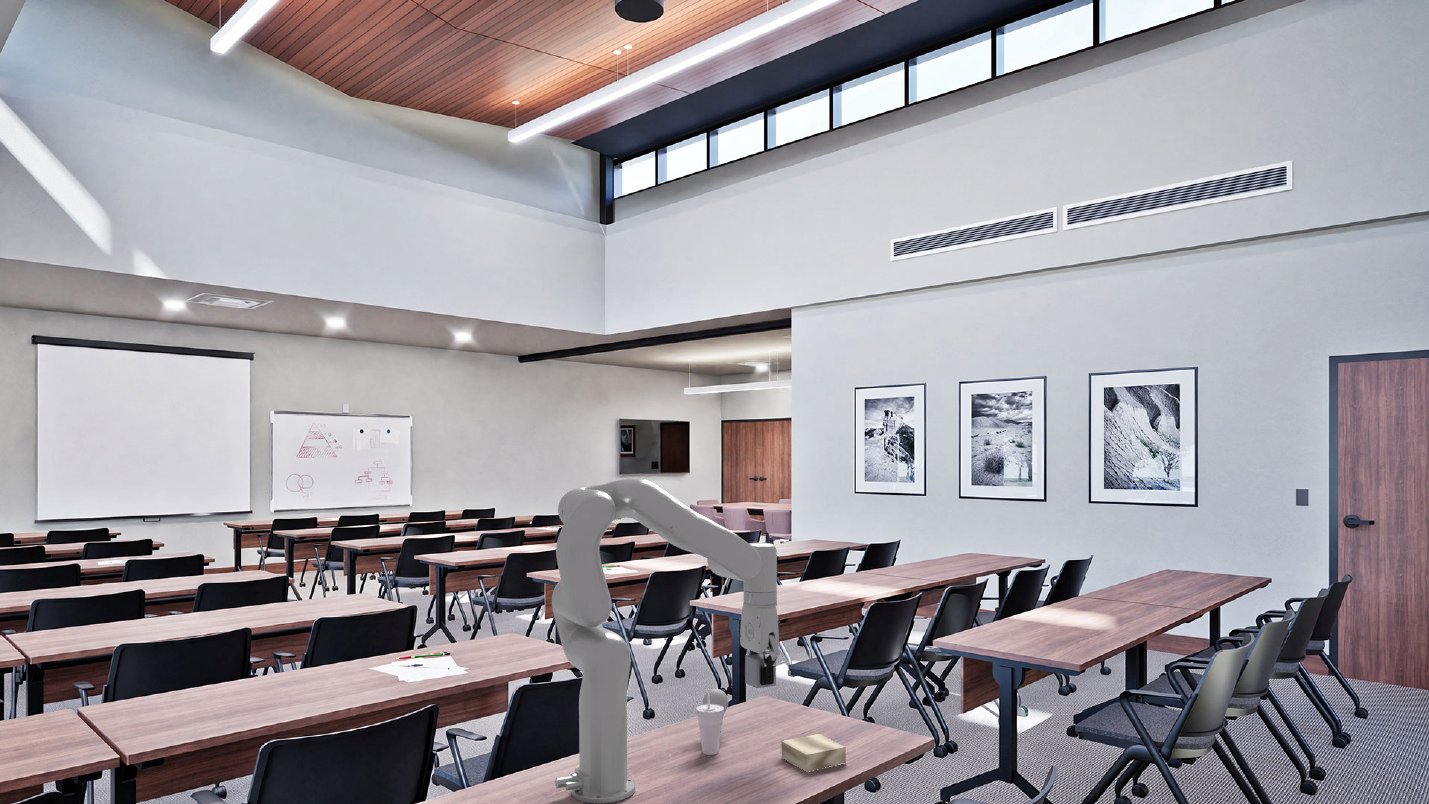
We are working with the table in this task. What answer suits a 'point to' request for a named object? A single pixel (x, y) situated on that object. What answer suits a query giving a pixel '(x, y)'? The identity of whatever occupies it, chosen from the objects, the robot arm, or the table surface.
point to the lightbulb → (717, 699)
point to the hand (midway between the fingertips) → (760, 680)
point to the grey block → (755, 671)
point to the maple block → (813, 752)
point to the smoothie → (710, 726)
